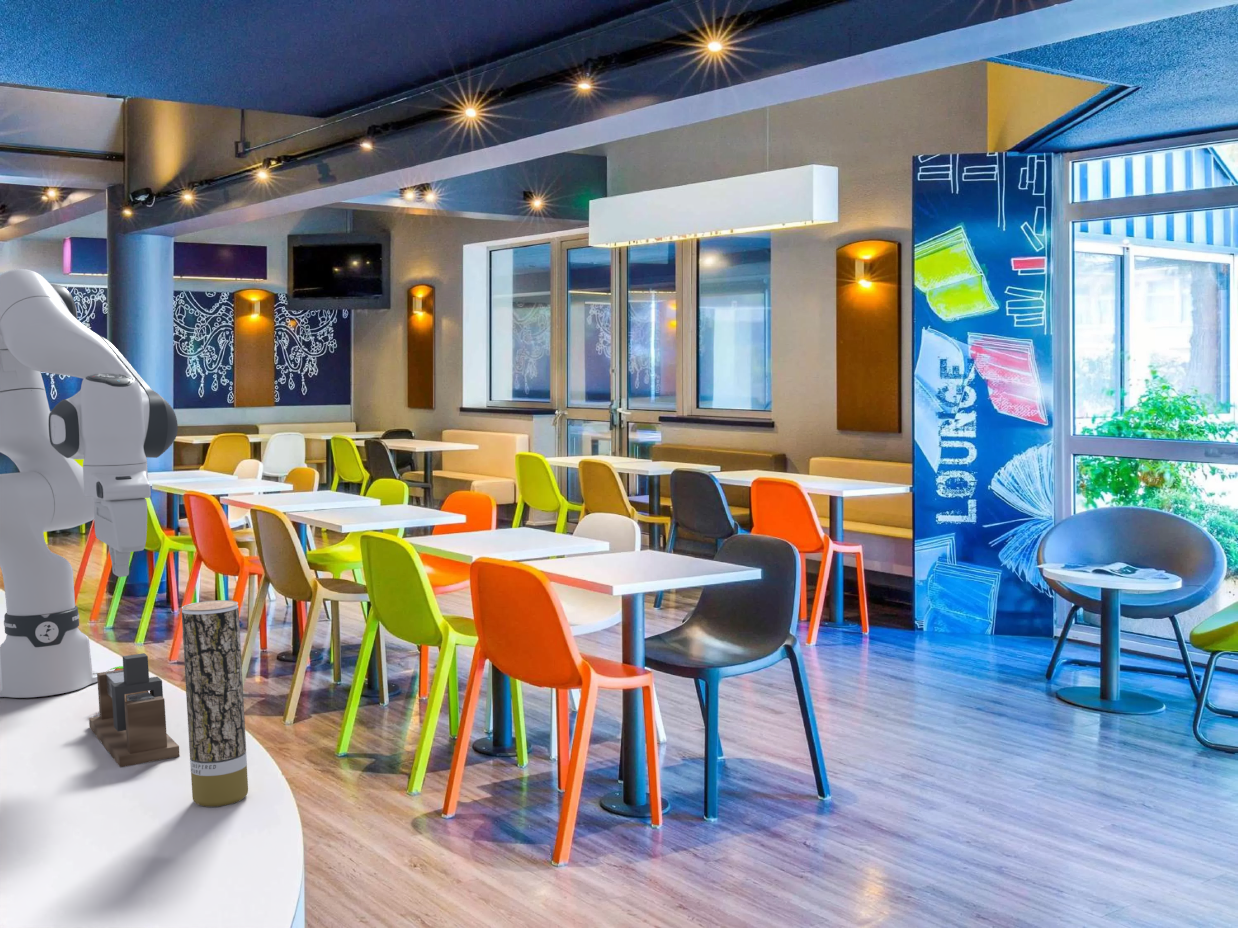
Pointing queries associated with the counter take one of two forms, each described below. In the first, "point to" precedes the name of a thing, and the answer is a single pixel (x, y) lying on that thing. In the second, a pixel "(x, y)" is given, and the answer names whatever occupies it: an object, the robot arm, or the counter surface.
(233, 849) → the counter surface
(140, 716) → the base
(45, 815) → the counter surface
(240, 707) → the paper tube
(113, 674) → the grey metal bar
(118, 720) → the grey clamp
